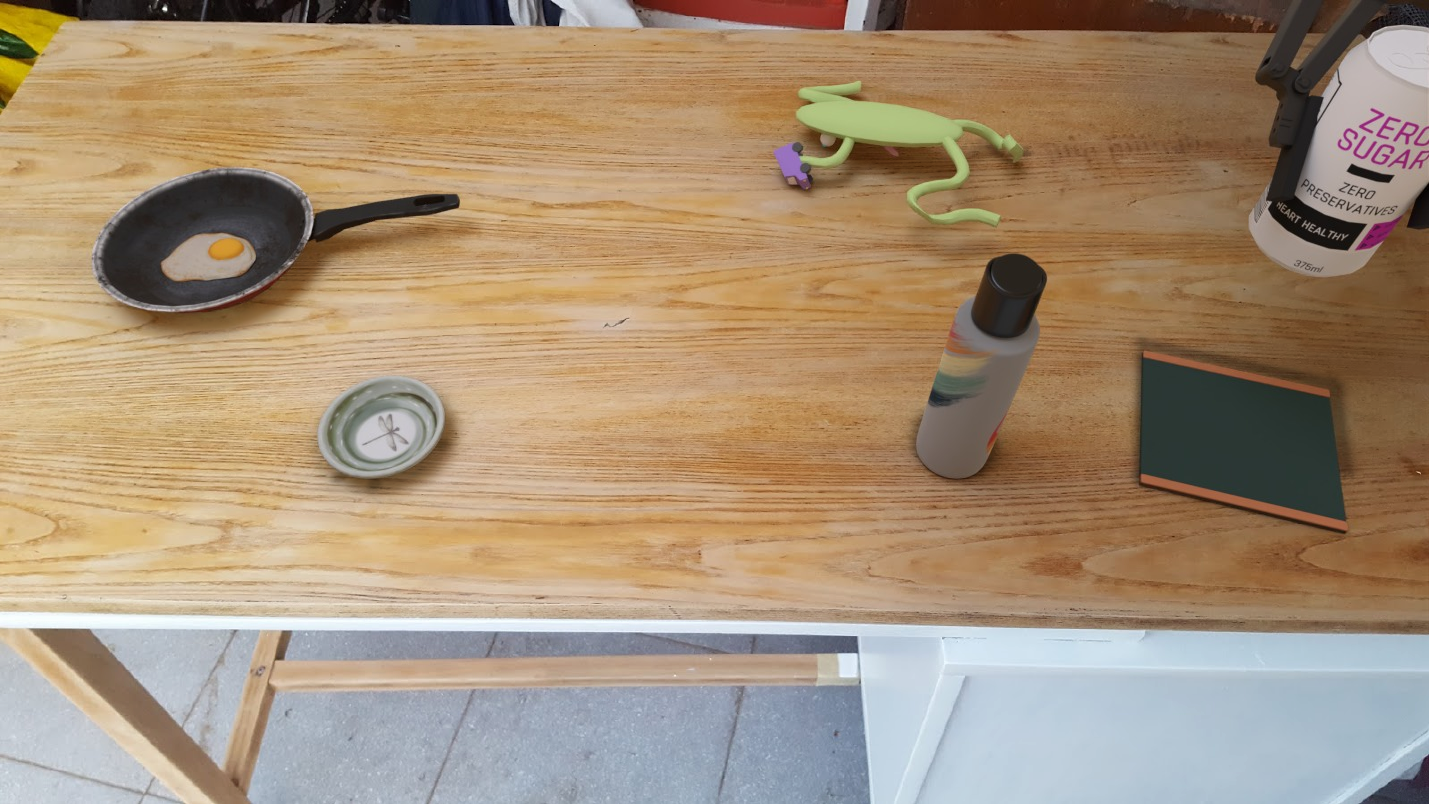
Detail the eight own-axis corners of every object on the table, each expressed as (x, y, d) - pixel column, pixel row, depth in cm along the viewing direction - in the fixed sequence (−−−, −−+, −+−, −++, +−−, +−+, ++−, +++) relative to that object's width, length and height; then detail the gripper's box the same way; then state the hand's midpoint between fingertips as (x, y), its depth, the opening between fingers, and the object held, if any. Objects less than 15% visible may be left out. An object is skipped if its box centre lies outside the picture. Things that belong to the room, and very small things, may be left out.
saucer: (302, 439, 75) (292, 421, 73) (406, 374, 79) (399, 355, 77) (369, 515, 71) (359, 498, 69) (475, 442, 75) (469, 424, 73)
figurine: (970, 278, 87) (984, 232, 83) (729, 169, 96) (731, 122, 92) (1048, 172, 96) (1065, 126, 92) (822, 82, 105) (827, 36, 101)
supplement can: (1334, 204, 71) (1462, 19, 59) (1384, 283, 66) (1534, 98, 54) (1227, 205, 71) (1334, 19, 59) (1269, 284, 66) (1394, 98, 54)
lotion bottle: (990, 430, 76) (1066, 248, 61) (982, 488, 73) (1061, 310, 57) (919, 415, 77) (977, 231, 61) (909, 471, 74) (967, 291, 58)
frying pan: (126, 205, 92) (107, 174, 89) (462, 165, 96) (454, 134, 93) (90, 350, 80) (67, 320, 77) (472, 297, 85) (463, 267, 82)
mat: (1326, 393, 79) (1329, 389, 79) (1344, 533, 71) (1348, 530, 71) (1141, 353, 82) (1143, 349, 81) (1138, 485, 73) (1141, 481, 73)
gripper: (1609, -102, 61) (1490, 249, 64) (1264, -148, 64) (1169, 187, 67) (1706, -157, 53) (1566, 243, 57) (1311, -205, 57) (1201, 174, 60)
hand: (1350, 212), depth 62 cm, fingers closed on supplement can, 8 cm apart
